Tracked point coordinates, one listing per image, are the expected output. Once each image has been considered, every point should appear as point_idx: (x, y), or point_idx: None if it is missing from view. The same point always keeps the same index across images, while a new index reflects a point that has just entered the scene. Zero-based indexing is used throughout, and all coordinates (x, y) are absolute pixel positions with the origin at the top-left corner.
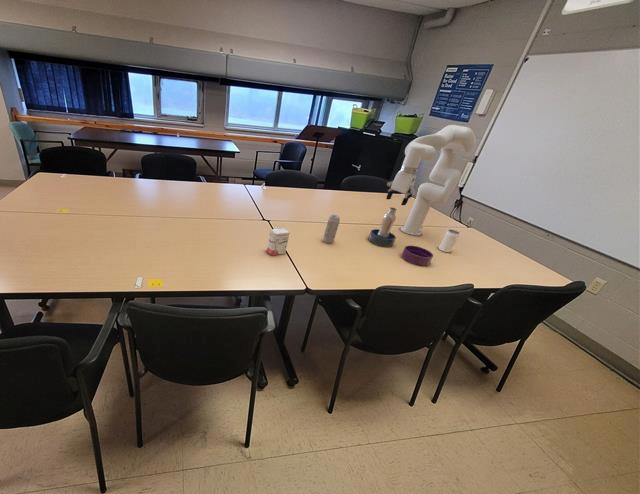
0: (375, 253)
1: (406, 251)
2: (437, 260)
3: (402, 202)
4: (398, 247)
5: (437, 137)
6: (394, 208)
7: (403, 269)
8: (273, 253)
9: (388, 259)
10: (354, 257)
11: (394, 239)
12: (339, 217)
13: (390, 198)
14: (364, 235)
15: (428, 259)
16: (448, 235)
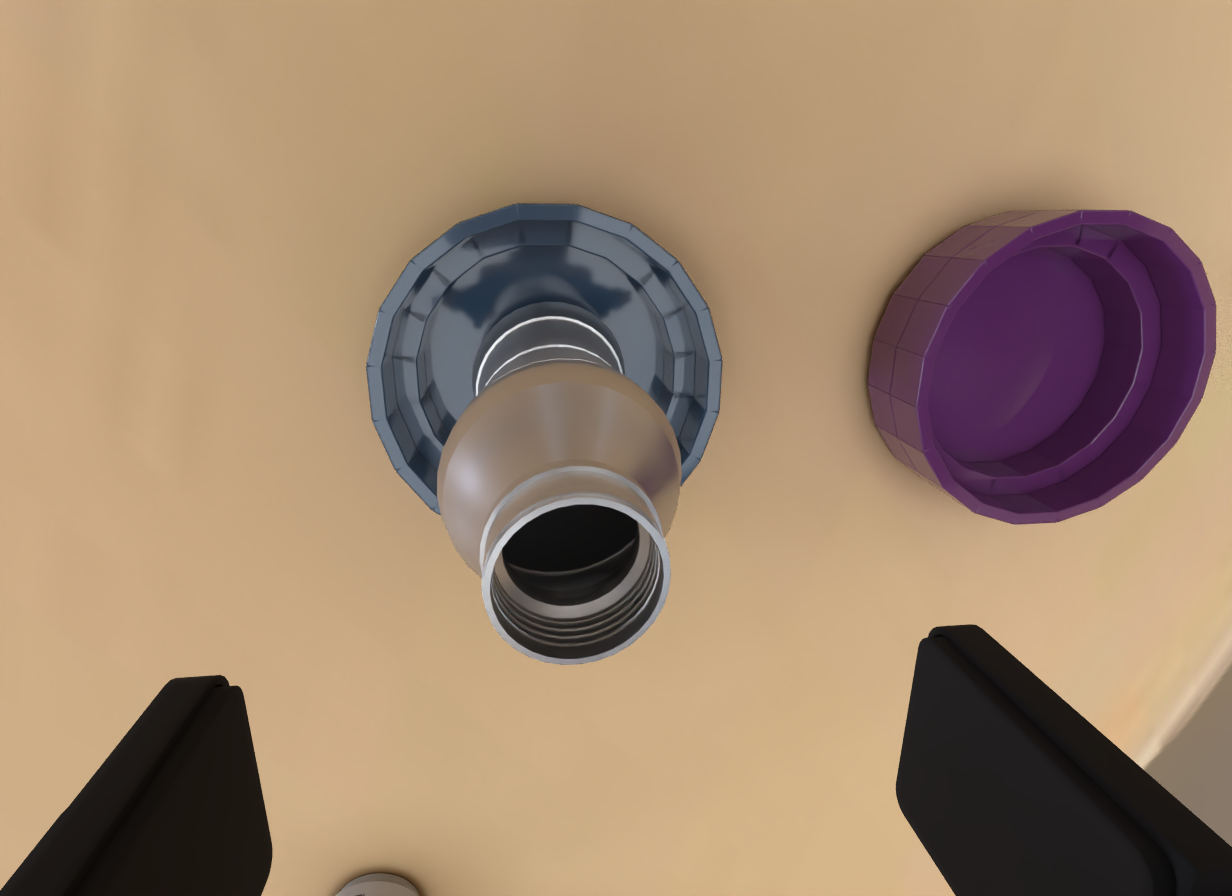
0: (723, 652)
1: (972, 510)
2: (1157, 77)
3: (966, 884)
4: (741, 258)
5: None
6: (561, 501)
7: (1011, 641)
8: None
9: (852, 626)
10: (696, 868)
11: (720, 359)
12: None
13: (227, 707)
14: (329, 413)
15: (1177, 404)
16: None
